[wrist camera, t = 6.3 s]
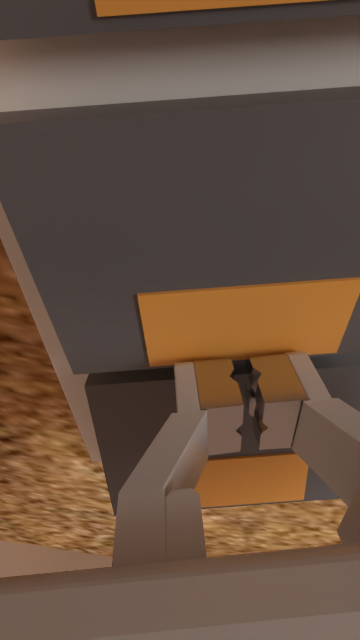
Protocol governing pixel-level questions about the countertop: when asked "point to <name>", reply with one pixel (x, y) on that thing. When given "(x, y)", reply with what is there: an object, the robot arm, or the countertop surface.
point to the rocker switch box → (162, 84)
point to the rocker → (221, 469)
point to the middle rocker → (190, 225)
